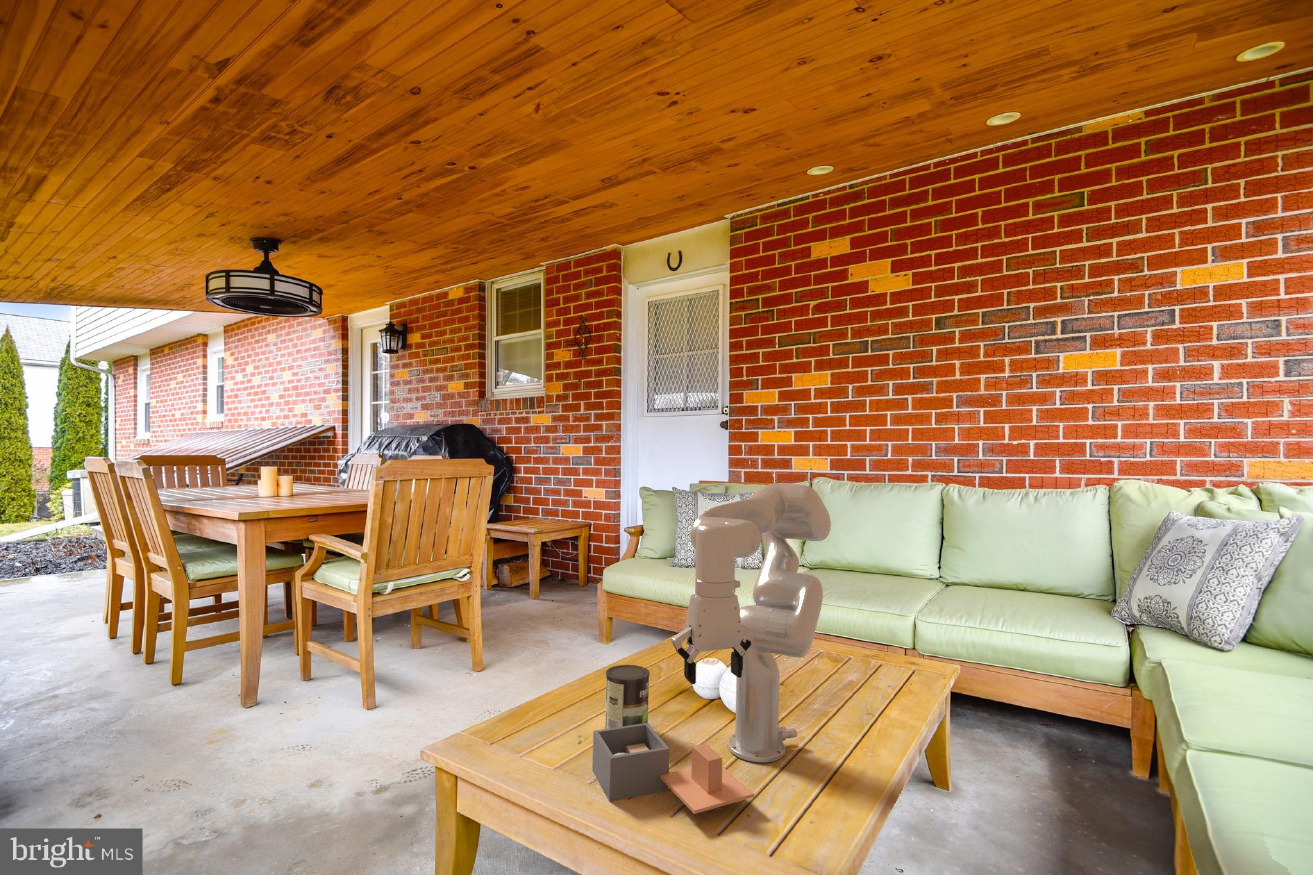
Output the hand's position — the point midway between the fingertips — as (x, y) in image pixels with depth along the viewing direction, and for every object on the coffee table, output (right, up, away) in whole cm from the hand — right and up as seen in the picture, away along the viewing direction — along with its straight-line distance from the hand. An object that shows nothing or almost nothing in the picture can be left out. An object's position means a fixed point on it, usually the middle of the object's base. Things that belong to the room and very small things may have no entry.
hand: (713, 678), depth 115 cm
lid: (-2, -20, -1) cm, 20 cm away
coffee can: (-18, -24, +27) cm, 40 cm away
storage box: (-16, -23, +6) cm, 29 cm away
